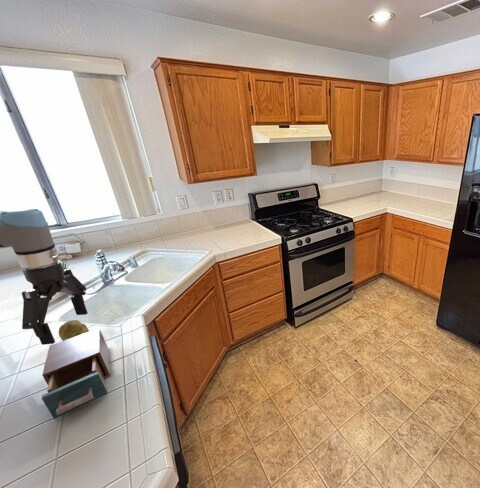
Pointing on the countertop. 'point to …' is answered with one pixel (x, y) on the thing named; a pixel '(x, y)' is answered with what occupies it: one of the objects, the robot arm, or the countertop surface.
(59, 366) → the cabinet
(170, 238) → the countertop surface
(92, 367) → the drawer
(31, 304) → the robot arm
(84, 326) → the potato
